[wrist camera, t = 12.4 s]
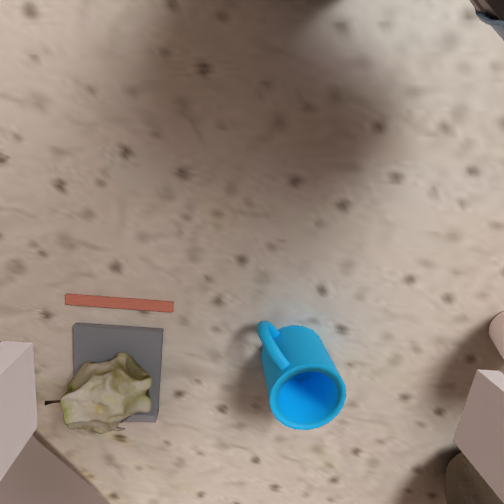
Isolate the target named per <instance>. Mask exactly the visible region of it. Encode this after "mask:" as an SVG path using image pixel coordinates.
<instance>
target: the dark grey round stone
mask: <svg viewBox="0 0 504 504" xmlns="http://www.w3.org/2000/svg"><path fill="white" fill-rule="evenodd" d="M445 495H446V500H447V504H504V503H503V502H502V501H501V500H500V498H499V497H498V496H497V495H496V493H495V492H494V491H493V490H492V488H491V487H490V486H489V485H488V484H487V482H486V481H485V480H484V479H483V477H482V476H481V475H480V474H479V472H478V471H477V470H476V469H475V468H474V466H473V465H472V464H471V463H470V461H469V460H468V459H467V458H466V456H465V455H464V454H463V453H462V452H461V453H459V454H458V455H456V456H455V457H454V458H453V459H452V460H450V462H449V463H448V465H447V468H446V472H445Z"/></svg>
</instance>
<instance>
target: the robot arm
mask: <svg viewBox="0 0 504 504" xmlns="http://www.w3.org/2000/svg"><path fill="white" fill-rule="evenodd" d="M470 1H471V3H472V4H473V6H474V8H475V10H476V15H477V16H478V18H479V19H480V20H481V21H483V22H484V23H486V24H489V25H491V26H492V27H493V29H494V30H495V31H496V32H497V33H498V34H499V36H500V37H501V38H502V39H503V40H504V0H470ZM37 427H38V425H37V407H36V388H35V370H34V351H33V343H28V342H12V341H2V342H1V343H0V481H1V479H2V478H3V477H4V475H5V474H6V472H7V471H8V469H9V468H10V466H11V465H12V464H13V462H14V461H15V459H16V458H17V456H18V455H19V453H20V452H21V450H22V449H23V447H24V446H25V444H26V443H27V441H28V440H29V439H30V437H31V436H32V434H33V433H34V431H35V430H36V428H37ZM453 442H454V443H455V444H456V445H457V447H458V448H459V449H460V450H461V451H462V453H463V454H464V455H465V456H466V458H467V459H468V460H469V461H470V463H471V464H472V465H473V466H474V468H475V469H476V470H477V471H478V472H479V474H480V475H481V476H482V477H483V479H484V480H485V481H486V482H487V484H488V485H489V486H490V487H491V488H492V490H493V491H494V492H495V493H496V495H497V496H498V497H499V498H500V500H501V501H502V502H503V503H504V374H503V373H501V372H500V371H494V370H477V371H476V374H475V377H474V380H473V383H472V386H471V389H470V391H469V394H468V397H467V400H466V403H465V406H464V409H463V412H462V415H461V418H460V421H459V424H458V427H457V429H456V432H455V435H454V438H453Z"/></svg>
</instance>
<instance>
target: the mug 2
mask: <svg viewBox="0 0 504 504" xmlns="http://www.w3.org/2000/svg"><path fill="white" fill-rule="evenodd" d="M489 336H490V338H491V340H492V341H493V343H494V344H495V346H496V348H497V349H498V351H499V353H500V354H501V356H502V358H503V359H504V311H503V312H501V313H499V314H498V315H497V316H496V317H495V318H494V319H493V320H492V322H491V323H490V326H489Z"/></svg>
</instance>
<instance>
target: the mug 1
mask: <svg viewBox="0 0 504 504" xmlns="http://www.w3.org/2000/svg"><path fill="white" fill-rule="evenodd" d="M257 332H258V335H259V337H260V339H261V341H262V343H263V347H262V352H261V360H262V365H263V370H264V376H265V381H266V386H267V391H268V396H269V402H270V407H271V411H272V413H273V414H274V416H275V417H276V419H277V420H278V421H280V422H281V423H282V424H284V425H285V426H288V427H290V428H293V429H301V430H308V429H313V428H318V427H320V426H322V425H324V424H326V423H329V422H330V421H331V420H332V419H333V418H334V417H336V416H337V415H338V413H339V412H340V410H341V409H342V407H343V406H344V402H345V398H346V388H345V384H344V382H343V380H342V378H341V376H340V374H339V373H338V371H337V369H336V367H335V365H334V363H333V361H332V360H331V358H330V356H329V354H328V352H327V350H326V348H325V347H324V345H323V343H322V341H321V339H320V337H319V336H318V335H317V334H316V333H315V332H314V331H313V330H311V329H309V328H306V327H304V326H296V325H292V326H287V327H283V328H281V329H279V330H277V329H276V328H275V327H274V326H273V325H272V324H271V323H269V322H268V321H261V322H259V323H258V325H257Z"/></svg>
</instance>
